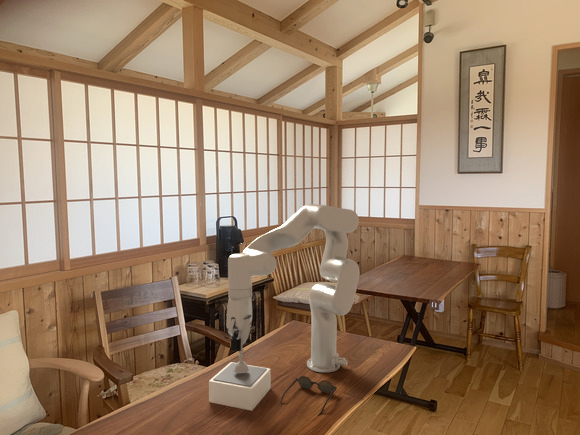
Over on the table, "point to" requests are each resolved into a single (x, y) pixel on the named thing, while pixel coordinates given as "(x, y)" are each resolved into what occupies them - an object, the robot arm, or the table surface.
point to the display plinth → (240, 386)
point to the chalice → (241, 365)
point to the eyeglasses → (307, 383)
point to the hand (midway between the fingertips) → (240, 346)
